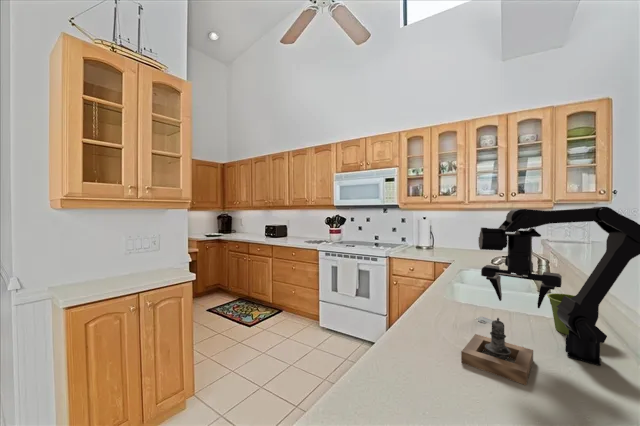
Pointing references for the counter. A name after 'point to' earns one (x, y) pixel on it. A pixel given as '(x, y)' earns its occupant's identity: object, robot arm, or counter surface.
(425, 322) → the counter surface
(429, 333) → the counter surface
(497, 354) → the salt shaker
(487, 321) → the mounting bracket
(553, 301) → the plant pot
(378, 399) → the counter surface
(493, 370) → the well block
